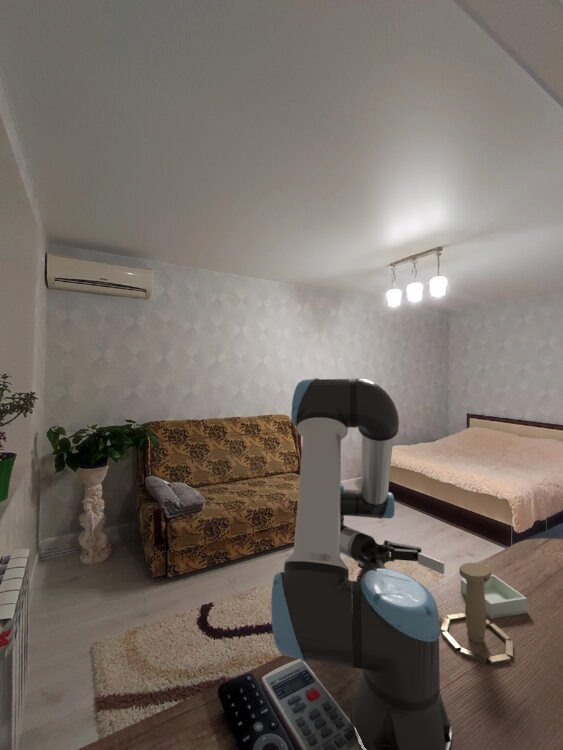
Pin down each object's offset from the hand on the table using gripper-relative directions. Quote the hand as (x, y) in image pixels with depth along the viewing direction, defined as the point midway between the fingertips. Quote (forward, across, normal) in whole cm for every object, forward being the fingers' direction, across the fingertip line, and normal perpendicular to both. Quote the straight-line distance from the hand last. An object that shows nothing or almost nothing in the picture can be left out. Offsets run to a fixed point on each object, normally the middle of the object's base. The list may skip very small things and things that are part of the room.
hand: (431, 579), depth 80 cm
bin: (+8, -16, -8) cm, 20 cm away
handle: (+10, 0, -9) cm, 13 cm away
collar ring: (+10, 0, -8) cm, 13 cm away
